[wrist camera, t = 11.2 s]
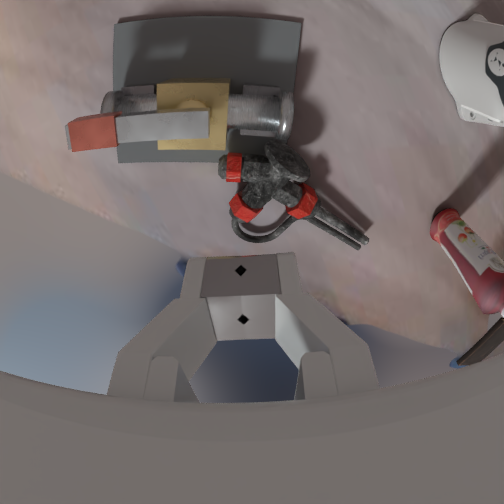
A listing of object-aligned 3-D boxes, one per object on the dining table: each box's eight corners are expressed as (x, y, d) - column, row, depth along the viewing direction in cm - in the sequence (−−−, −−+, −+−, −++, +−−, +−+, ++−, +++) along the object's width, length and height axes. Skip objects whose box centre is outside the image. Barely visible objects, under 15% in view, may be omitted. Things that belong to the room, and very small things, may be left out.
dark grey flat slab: (514, 321, 72) (517, 325, 71) (474, 360, 85) (476, 365, 83) (500, 316, 68) (503, 321, 66) (455, 360, 81) (457, 365, 79)
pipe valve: (287, 82, 31) (299, 89, 25) (280, 136, 35) (290, 155, 29) (119, 82, 29) (94, 90, 23) (122, 134, 33) (99, 153, 28)
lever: (211, 102, 25) (208, 108, 23) (211, 132, 27) (208, 141, 25) (78, 116, 24) (63, 123, 22) (81, 142, 26) (68, 152, 24)
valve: (186, 195, 42) (245, 114, 32) (318, 260, 53) (382, 211, 44) (178, 226, 38) (243, 139, 28) (323, 290, 49) (394, 241, 40)
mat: (300, 23, 27) (301, 23, 26) (283, 164, 38) (284, 166, 38) (116, 24, 25) (114, 24, 24) (120, 161, 36) (118, 163, 36)
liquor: (421, 239, 47) (501, 369, 25) (430, 203, 43) (531, 333, 20) (450, 237, 47) (530, 354, 25) (461, 203, 43) (557, 319, 20)
